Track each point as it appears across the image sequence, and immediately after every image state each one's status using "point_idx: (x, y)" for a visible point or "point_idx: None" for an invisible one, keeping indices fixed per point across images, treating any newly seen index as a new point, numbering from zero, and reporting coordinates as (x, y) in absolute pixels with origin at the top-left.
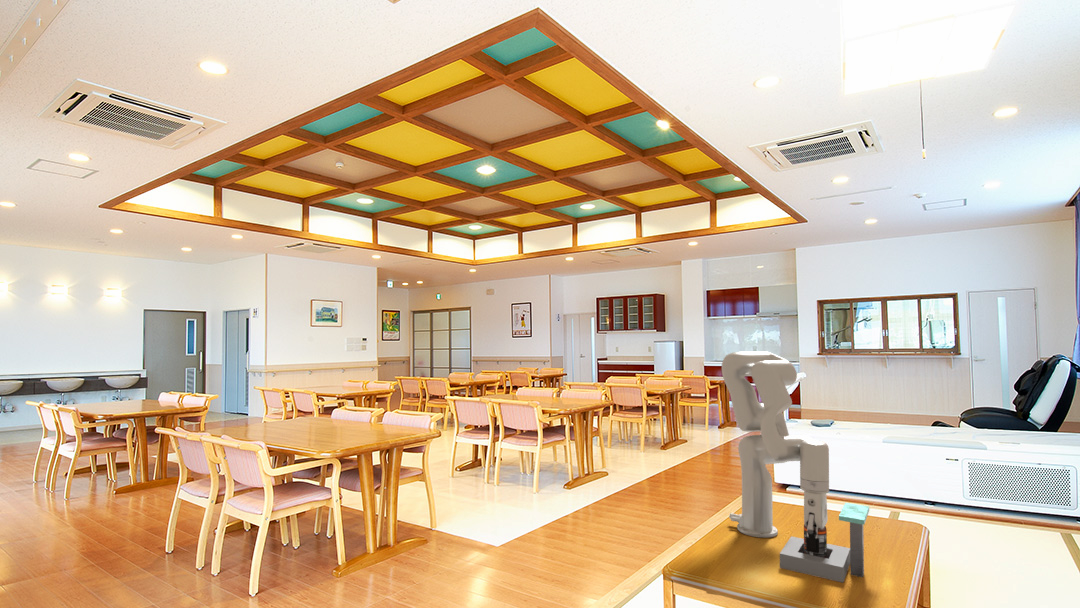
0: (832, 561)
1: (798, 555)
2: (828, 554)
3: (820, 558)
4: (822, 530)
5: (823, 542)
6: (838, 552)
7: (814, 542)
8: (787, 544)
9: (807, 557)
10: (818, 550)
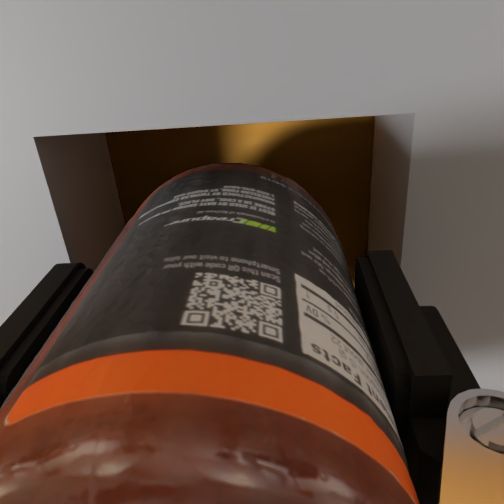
0: (494, 48)
1: (481, 384)
2: (78, 166)
3: (459, 200)
4: (349, 477)
5: (302, 273)
6: (80, 50)
7: (469, 379)
8: None
9: (495, 313)
10: (397, 266)
